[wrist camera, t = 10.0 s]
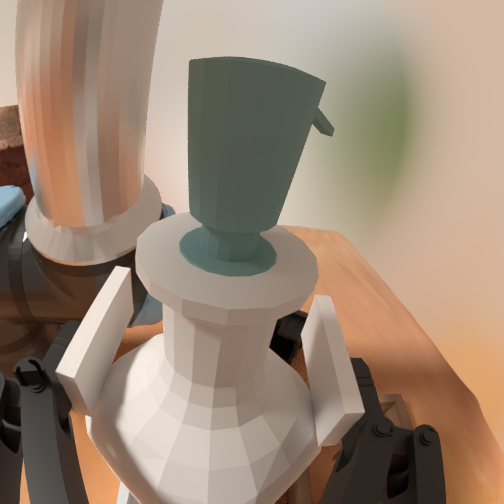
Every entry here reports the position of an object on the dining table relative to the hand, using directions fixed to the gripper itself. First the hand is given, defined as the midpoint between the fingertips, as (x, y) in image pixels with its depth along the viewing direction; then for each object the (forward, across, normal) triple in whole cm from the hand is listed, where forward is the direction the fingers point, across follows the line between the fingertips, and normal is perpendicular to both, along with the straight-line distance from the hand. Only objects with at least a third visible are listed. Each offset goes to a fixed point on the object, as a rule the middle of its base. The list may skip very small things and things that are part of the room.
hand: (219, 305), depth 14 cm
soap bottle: (-5, 0, -13) cm, 14 cm away
